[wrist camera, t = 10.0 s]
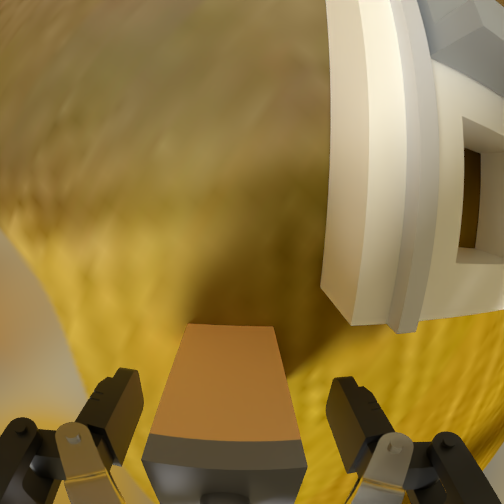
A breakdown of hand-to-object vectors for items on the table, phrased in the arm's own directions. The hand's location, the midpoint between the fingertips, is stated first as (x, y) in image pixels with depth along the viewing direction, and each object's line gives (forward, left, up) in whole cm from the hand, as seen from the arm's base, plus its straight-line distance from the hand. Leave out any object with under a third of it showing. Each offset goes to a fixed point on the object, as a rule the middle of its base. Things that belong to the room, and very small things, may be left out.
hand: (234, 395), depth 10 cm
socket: (+12, -11, -3) cm, 16 cm away
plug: (0, 0, -3) cm, 3 cm away
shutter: (+17, -11, +1) cm, 20 cm away
